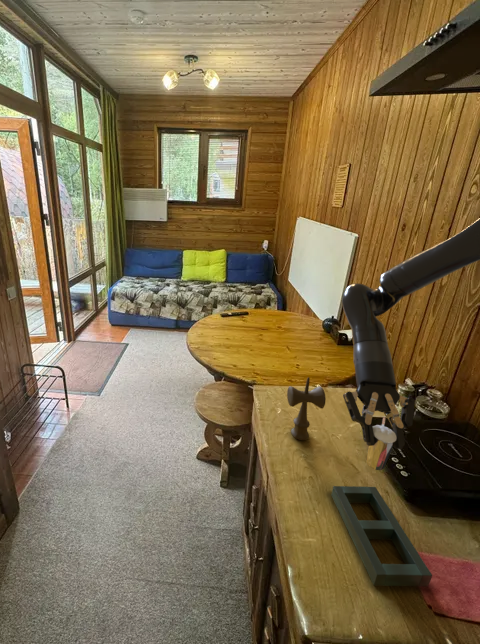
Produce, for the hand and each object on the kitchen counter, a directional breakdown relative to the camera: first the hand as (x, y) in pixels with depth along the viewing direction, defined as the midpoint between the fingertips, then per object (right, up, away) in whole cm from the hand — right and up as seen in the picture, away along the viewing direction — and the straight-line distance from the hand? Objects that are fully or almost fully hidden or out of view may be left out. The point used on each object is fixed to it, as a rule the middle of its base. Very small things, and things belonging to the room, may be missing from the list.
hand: (384, 446), depth 62 cm
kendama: (-7, -11, +30) cm, 33 cm away
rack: (-1, -20, +2) cm, 20 cm away
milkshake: (0, -5, +4) cm, 7 cm away
